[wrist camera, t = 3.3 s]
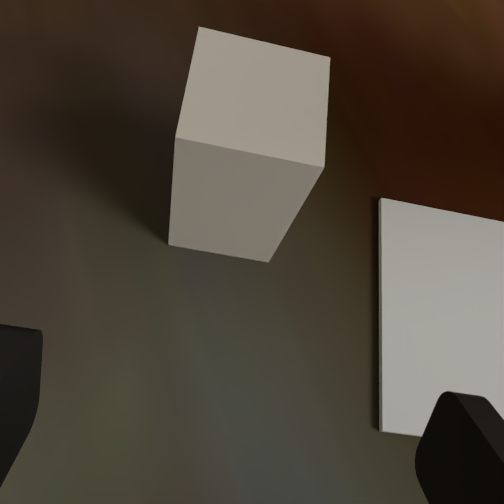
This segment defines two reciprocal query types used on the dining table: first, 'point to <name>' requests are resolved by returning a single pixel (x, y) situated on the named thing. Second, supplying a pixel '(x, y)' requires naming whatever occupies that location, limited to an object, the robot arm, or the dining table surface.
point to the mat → (437, 311)
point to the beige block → (246, 144)
